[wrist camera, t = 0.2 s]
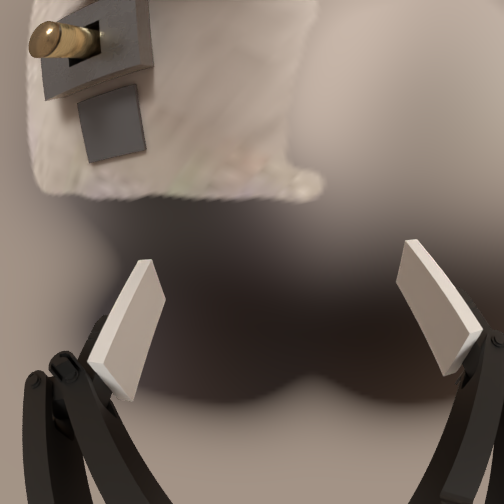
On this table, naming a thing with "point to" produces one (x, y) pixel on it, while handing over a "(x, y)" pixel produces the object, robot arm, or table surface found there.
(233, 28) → the table surface
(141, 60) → the housing
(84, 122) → the mat
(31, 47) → the gold metal cylinder
